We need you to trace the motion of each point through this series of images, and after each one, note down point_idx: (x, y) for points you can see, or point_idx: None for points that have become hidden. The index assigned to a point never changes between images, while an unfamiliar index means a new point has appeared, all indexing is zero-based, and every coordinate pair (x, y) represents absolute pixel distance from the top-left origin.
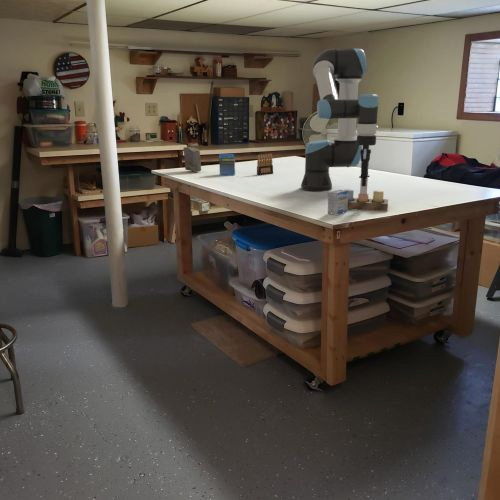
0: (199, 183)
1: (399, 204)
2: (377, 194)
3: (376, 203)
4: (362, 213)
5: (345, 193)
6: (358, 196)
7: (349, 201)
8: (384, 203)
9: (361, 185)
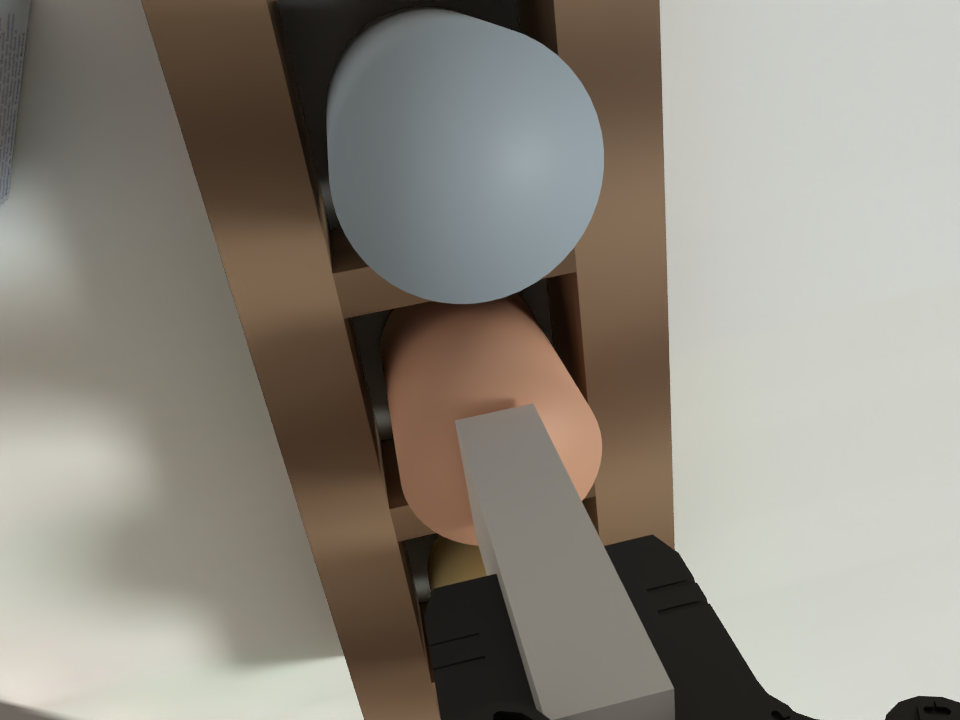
0: None
1: (787, 648)
2: None
3: (334, 622)
4: (44, 448)
5: None
6: (445, 364)
7: (276, 195)
8: (372, 703)
9: (493, 564)
